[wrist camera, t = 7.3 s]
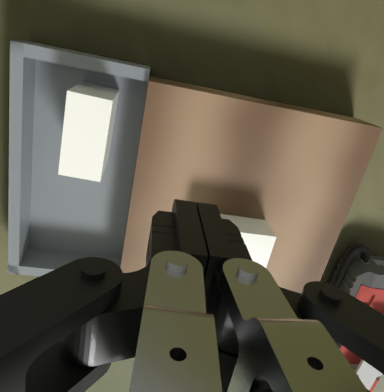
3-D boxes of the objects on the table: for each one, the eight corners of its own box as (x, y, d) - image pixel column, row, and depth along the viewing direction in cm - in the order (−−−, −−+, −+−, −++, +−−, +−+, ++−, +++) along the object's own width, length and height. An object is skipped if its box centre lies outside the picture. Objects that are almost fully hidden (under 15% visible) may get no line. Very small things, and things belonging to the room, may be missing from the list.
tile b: (265, 220, 21) (276, 236, 19) (247, 275, 22) (256, 295, 21) (200, 211, 20) (205, 227, 18) (186, 268, 22) (190, 289, 20)
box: (150, 66, 20) (150, 69, 17) (120, 261, 24) (117, 283, 22) (27, 40, 18) (9, 40, 16) (21, 250, 23) (7, 273, 21)
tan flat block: (354, 117, 22) (382, 128, 19) (295, 274, 27) (311, 300, 24) (148, 75, 20) (148, 80, 17) (121, 255, 24) (118, 282, 22)
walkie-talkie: (320, 230, 26) (244, 414, 33) (351, 265, 22) (257, 466, 29) (421, 246, 28) (328, 418, 35) (468, 282, 23) (351, 468, 31)
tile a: (112, 100, 16) (66, 90, 15) (100, 182, 17) (58, 174, 17) (119, 89, 20) (82, 81, 19) (108, 157, 21) (74, 151, 21)
